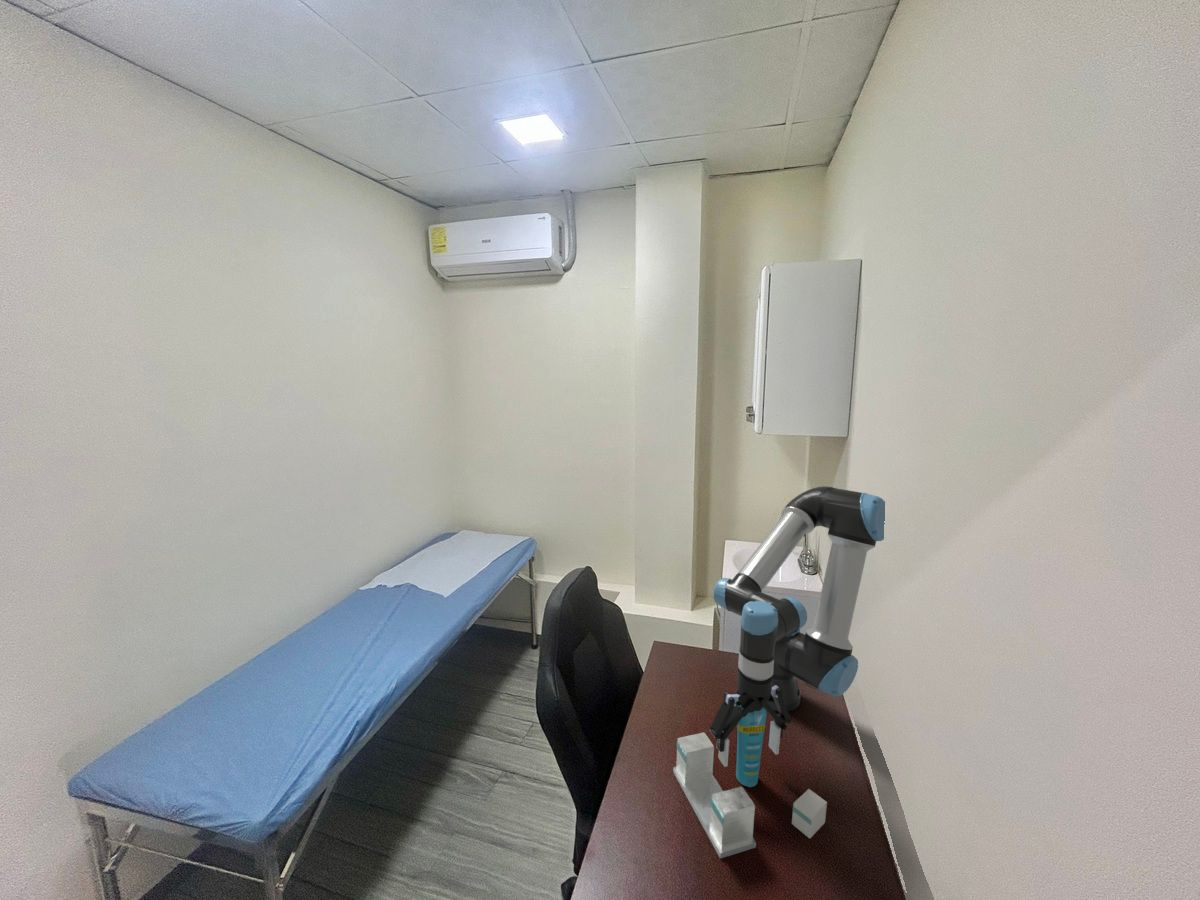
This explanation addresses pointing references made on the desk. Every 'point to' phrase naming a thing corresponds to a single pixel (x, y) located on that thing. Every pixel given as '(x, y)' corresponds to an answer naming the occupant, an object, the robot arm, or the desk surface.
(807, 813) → the block
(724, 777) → the desk surface
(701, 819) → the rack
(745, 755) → the tube
